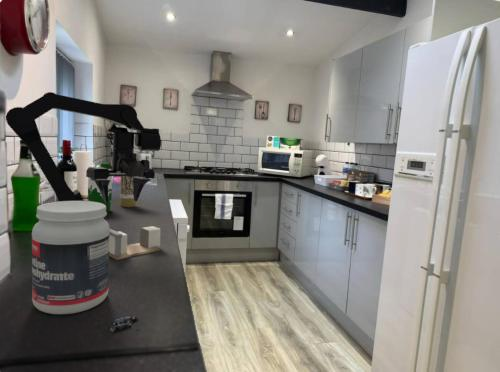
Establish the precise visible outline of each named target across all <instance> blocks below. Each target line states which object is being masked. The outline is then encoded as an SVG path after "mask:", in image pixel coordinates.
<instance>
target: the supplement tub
mask: <svg viewBox="0 0 500 372" xmlns="http://www.w3.org/2000/svg"><path fill="white" fill-rule="evenodd" d="M107 215H108V212H106V206H105V205H104V204H102V203H98V202H92V201H88V200H84V201H60V202H58V201H52V202H47V203H42V204H40V205H38V206H37V207H36V215H35V216H36V218H37V219H38V222H36V223H35V224H34V226H33V227H32V230H31V231H32V232H31V253H32V254H31V278H32V279H31V283H32V284H31V290H32V293H31V294H32V297H31V301H32V304H33V306H34V307H35V308H36V309H37V310H38V311H40V312H43V313H46V314H52V315H71V314H76V313H81V312H84V311H88V310H89V309H92V308H94V307H96V306H98V305H100V304H101V303H103V302H104V300H106V298H107V297H108V296H107V295H108V294H109V268H110V263H109V261H110V256H109V232H110V229H111V228H110V225H109V223H108V221H107V220H105V217H107Z"/></svg>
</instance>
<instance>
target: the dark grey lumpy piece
mask: <svg viewBox="0 0 500 372" xmlns="http://www.w3.org/2000/svg"><path fill="white" fill-rule="evenodd" d="M138 321H139V318H138V317H137V316H135V315H134V316H124V317H123V316H121V317H120V318H117V319H115V320H114V321H113V322H112V324H111V327H110V328H109V329H108V330H109V333H111V334H117V333H118V332H121V331H125V330H129V329H131V328H132V327H133V324H135V323H137V322H138ZM131 333H132V331H130V334H131Z"/></svg>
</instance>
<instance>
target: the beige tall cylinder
mask: <svg viewBox="0 0 500 372" xmlns="http://www.w3.org/2000/svg"><path fill="white" fill-rule="evenodd" d="M134 153H135V154H136V159H137V160H138V152H137V151H134ZM119 185H120V191H119V194H120V198H119V205H120V207H122V208H134V207H135V206H136V205H137V201H134V196H133V177H128V176H120V184H119Z"/></svg>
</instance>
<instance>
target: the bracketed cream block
mask: <svg viewBox="0 0 500 372" xmlns="http://www.w3.org/2000/svg"><path fill="white" fill-rule="evenodd" d="M127 245H128V234H127V233H125V232H123V231H117V230H114V229H112V228H110V232H109V253H111V254H113V255H116V256H117V257H118V256H121V254H123V253H127Z"/></svg>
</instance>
